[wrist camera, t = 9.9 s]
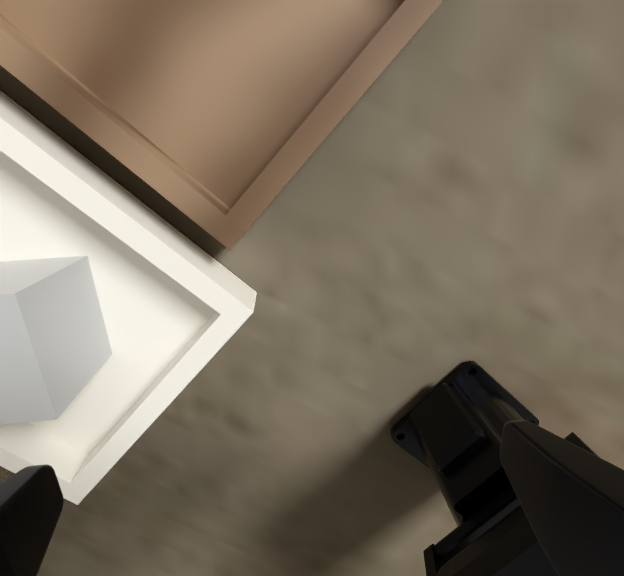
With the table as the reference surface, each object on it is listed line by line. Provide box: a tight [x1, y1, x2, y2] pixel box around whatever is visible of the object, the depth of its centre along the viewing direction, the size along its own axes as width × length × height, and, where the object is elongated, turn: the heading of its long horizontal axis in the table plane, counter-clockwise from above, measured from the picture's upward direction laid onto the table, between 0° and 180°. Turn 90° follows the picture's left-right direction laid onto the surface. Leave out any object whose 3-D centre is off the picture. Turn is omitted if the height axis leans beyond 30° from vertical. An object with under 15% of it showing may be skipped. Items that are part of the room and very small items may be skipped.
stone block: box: [0, 256, 112, 425], centre depth 16 cm, size 5×5×5 cm
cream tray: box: [0, 90, 257, 505], centre depth 17 cm, size 14×14×2 cm
